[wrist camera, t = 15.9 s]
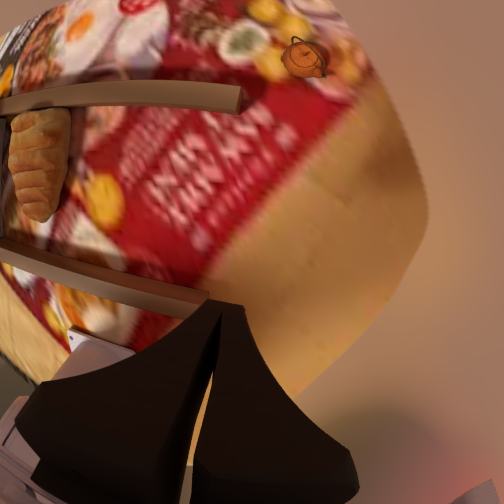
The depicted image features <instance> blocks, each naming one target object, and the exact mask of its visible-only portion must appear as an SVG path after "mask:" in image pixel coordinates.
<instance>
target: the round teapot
mask: <svg viewBox="0 0 504 504" xmlns="http://www.w3.org/2000/svg"><path fill="white" fill-rule="evenodd" d="M293 38H297V39H299V40H300V41H301V42H297V43H294V44H293ZM291 41H292V42H291V43H292V44H291V45H290V46H288V47H287V48H286V49H285V50H284V51H283V52H282V54H281V62H283V63H284V66H285V68H286V69H287V70H288V71H289V72H290V73H292V74H293V75H295V76H298V77H302V78H310V77H316V78H324V79H326V78H327V77H326V75H325V74H324V73H323V72H322V69H323V68H324V67H325V66H324V65H325V61H324V56H323V54H322V52H321V51H320V50H319V49H318V48H317V47H316V46H314V45H313V44H310V43H307V42H304V41H303V40H302V39H300V38H298V37H296V36H293V37H292V38H291Z"/></svg>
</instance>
